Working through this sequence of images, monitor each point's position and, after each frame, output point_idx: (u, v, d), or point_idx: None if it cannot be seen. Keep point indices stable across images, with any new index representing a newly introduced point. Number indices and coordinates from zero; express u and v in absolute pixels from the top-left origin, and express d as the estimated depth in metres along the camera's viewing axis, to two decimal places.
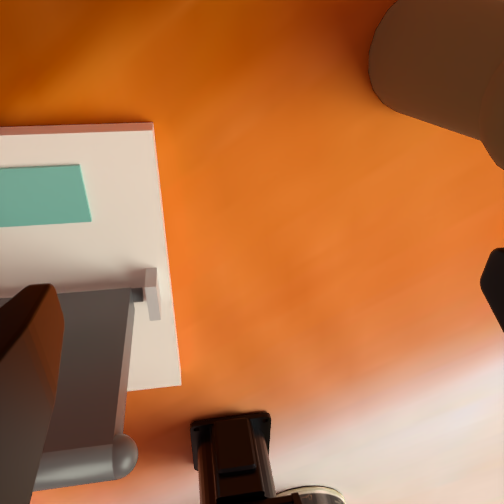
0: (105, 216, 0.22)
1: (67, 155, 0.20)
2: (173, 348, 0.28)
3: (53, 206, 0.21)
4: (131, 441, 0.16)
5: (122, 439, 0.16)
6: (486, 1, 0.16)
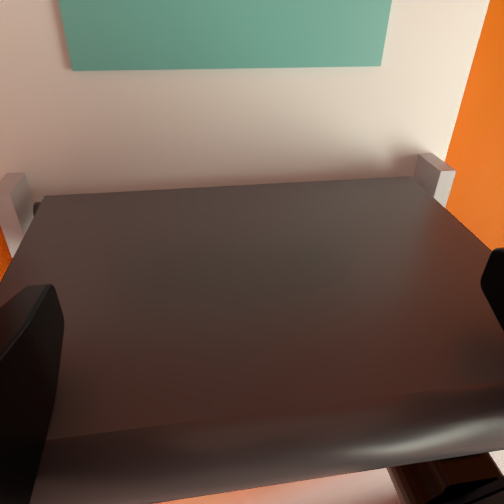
0: (397, 60, 0.15)
1: None
2: None
3: (339, 34, 0.14)
4: None
5: None
6: None
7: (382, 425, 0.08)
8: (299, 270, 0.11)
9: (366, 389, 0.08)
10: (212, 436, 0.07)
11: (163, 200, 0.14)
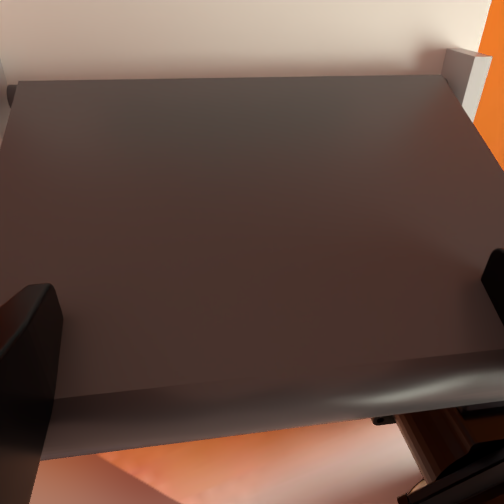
0: None
1: None
2: None
3: None
4: None
5: None
6: None
7: (376, 390, 0.08)
8: (309, 205, 0.10)
9: (365, 353, 0.08)
10: (216, 398, 0.08)
11: (158, 96, 0.12)
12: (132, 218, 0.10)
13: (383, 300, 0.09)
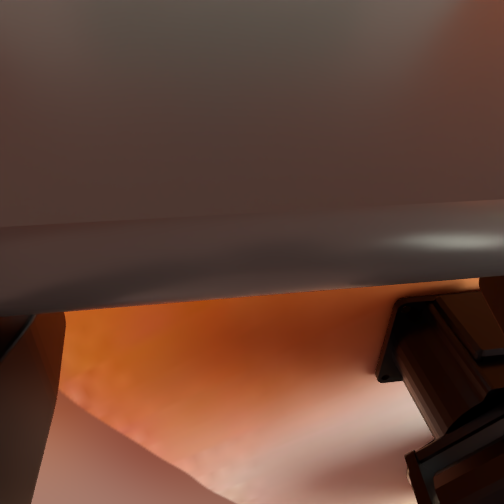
0: None
1: None
2: None
3: None
4: None
5: None
6: None
7: (412, 236, 0.06)
8: (322, 49, 0.09)
9: (397, 194, 0.07)
10: (205, 236, 0.06)
11: None
12: (103, 52, 0.08)
13: (417, 142, 0.07)
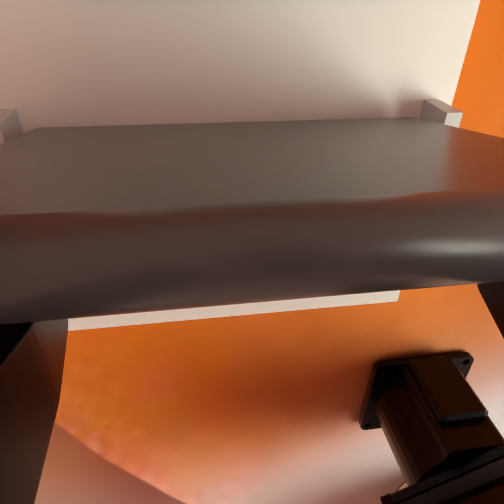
0: None
1: None
2: None
3: None
4: None
5: None
6: None
7: (404, 214, 0.06)
8: (301, 148, 0.10)
9: (382, 192, 0.07)
10: (197, 216, 0.06)
11: (158, 127, 0.14)
12: (120, 155, 0.10)
13: (393, 172, 0.08)
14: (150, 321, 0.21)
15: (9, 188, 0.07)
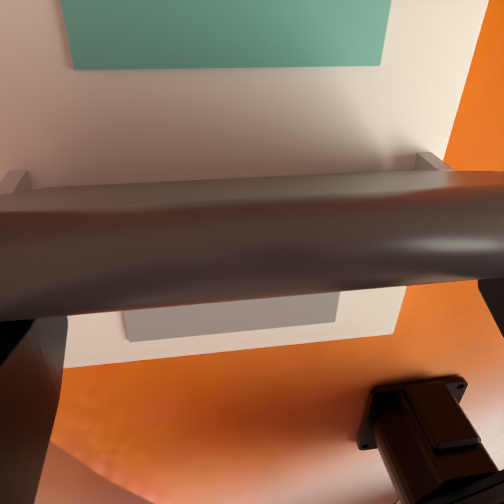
0: (397, 59, 0.15)
1: None
2: None
3: (338, 34, 0.14)
4: None
5: None
6: None
7: (397, 203, 0.07)
8: (297, 181, 0.11)
9: (374, 191, 0.07)
10: (197, 208, 0.06)
11: (163, 182, 0.15)
12: (125, 190, 0.10)
13: (385, 184, 0.08)
14: (154, 357, 0.21)
15: (18, 203, 0.08)
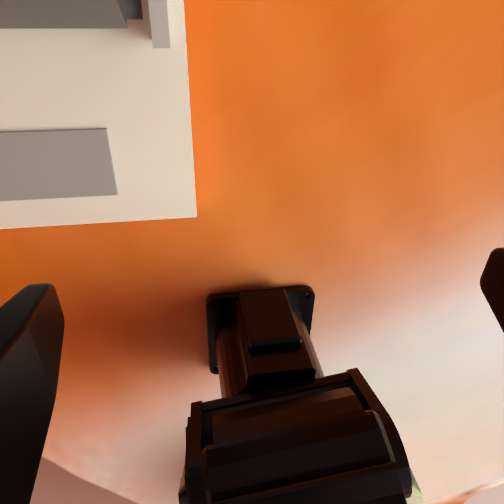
0: None
1: None
2: (186, 144, 0.19)
3: None
4: None
5: None
6: None
7: None
8: None
9: None
10: None
11: None
12: None
13: None
14: None
15: None
